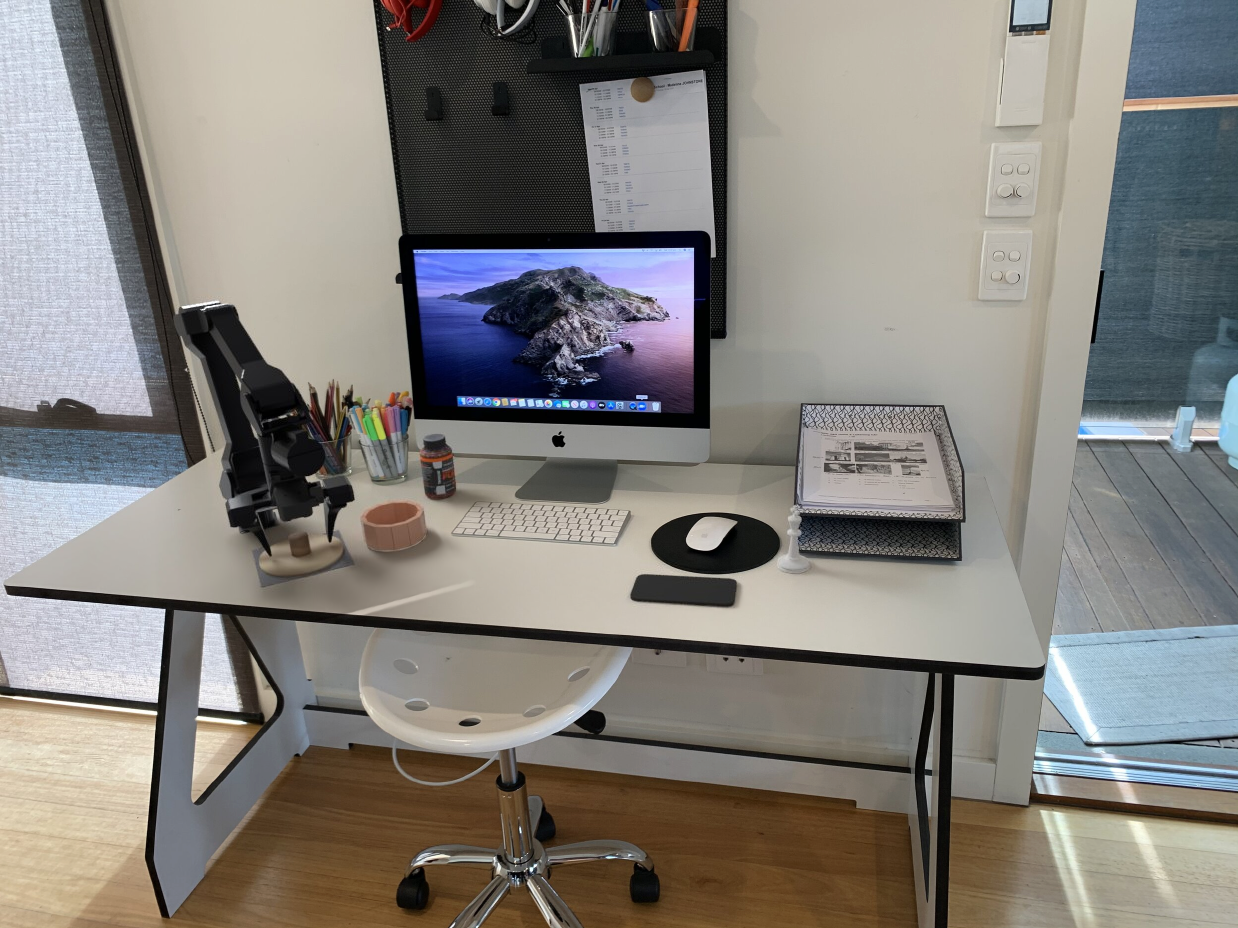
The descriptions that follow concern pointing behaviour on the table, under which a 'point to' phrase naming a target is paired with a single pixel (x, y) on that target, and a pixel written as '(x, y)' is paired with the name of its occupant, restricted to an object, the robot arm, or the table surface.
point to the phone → (684, 590)
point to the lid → (301, 555)
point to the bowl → (393, 525)
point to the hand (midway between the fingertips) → (300, 548)
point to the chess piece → (793, 548)
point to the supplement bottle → (437, 467)
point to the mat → (270, 580)
